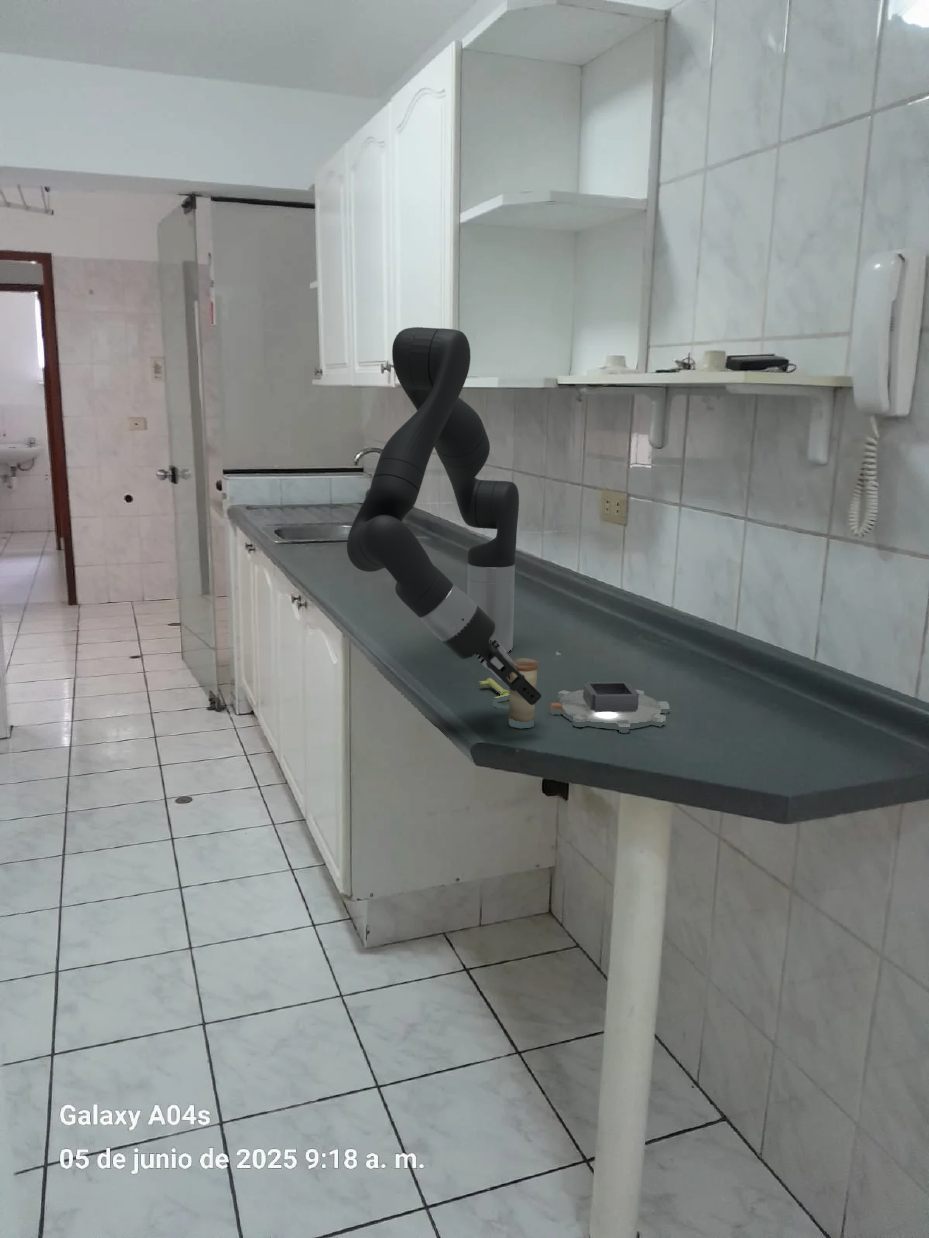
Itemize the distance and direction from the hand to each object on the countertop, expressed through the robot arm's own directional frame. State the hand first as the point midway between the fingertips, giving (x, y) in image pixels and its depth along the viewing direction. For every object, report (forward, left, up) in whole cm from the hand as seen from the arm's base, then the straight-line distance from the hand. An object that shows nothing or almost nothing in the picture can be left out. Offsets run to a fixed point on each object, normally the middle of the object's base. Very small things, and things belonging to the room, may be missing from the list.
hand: (529, 691), depth 145 cm
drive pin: (0, -1, -5) cm, 5 cm away
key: (-13, -2, -6) cm, 14 cm away
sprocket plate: (-5, +14, -5) cm, 16 cm away
